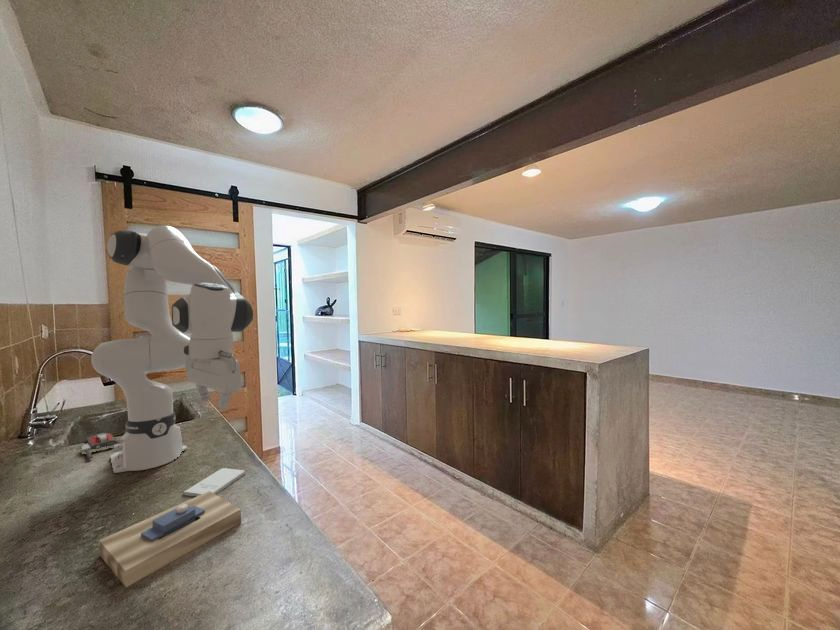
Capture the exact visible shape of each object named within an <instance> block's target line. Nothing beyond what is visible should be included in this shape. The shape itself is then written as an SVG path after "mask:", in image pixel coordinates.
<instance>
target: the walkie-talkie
mask: <svg viewBox="0 0 840 630" xmlns="http://www.w3.org/2000/svg"><path fill="white" fill-rule="evenodd" d="M87 443H88V444H87ZM117 443H118V440H117V439H116V438H115V436H114V435H113V434H112V433H110V432H103V433H99V434H98V433H97V434H94V435H90V436H88V437H87V438H85V441H84V444H83V445H81V447H80V451H81V450H82V452H83V451H85V452H86V455H87V456H86V455H85V456H86V457H87V459H89V460H91V459H90V458H92V459H93V457H94V456H93V455H92V453H90V452H89V450H91V449H99V448H101V447H105V446H106V447H107V446H111V445H114V444H117Z"/></svg>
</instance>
